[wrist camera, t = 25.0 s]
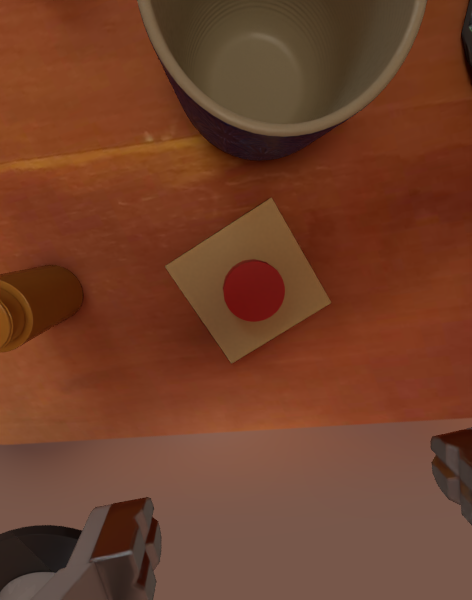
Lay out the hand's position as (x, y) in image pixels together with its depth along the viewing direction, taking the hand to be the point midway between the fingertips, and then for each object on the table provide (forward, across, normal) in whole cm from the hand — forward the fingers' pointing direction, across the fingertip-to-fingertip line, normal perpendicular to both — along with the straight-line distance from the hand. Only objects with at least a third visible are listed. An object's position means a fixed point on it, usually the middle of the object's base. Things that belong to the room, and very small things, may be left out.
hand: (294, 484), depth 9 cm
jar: (+29, +20, -4) cm, 35 cm away
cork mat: (+28, -2, -1) cm, 29 cm away
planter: (+29, -6, -21) cm, 36 cm away
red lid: (+26, -2, 0) cm, 26 cm away
